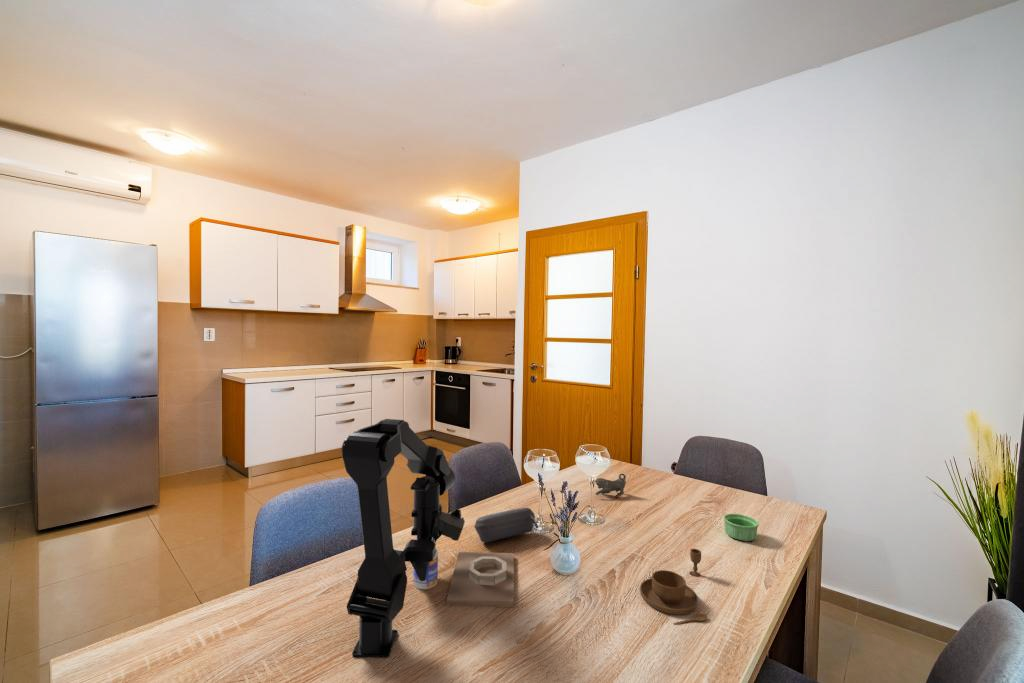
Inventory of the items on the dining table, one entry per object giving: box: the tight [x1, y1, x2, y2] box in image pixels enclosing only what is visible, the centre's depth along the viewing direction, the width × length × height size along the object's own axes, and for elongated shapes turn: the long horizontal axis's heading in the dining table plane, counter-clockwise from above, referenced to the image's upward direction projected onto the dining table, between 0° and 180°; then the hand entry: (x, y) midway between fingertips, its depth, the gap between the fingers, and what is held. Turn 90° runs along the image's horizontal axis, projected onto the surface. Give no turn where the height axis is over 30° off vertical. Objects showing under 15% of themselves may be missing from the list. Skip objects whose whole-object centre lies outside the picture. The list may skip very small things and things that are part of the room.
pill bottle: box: [413, 538, 439, 590], centre depth 100 cm, size 5×5×10 cm
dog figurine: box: [594, 473, 627, 498], centre depth 156 cm, size 12×6×7 cm, turn 100°
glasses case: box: [474, 507, 539, 543], centre depth 121 cm, size 18×10×8 cm, turn 119°
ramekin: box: [723, 513, 760, 542], centre depth 127 cm, size 9×9×4 cm
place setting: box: [639, 548, 708, 626], centre depth 97 cm, size 18×20×6 cm
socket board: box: [446, 551, 515, 608], centre depth 102 cm, size 20×14×3 cm
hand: (425, 572), depth 100 cm, fingers open, 6 cm apart
